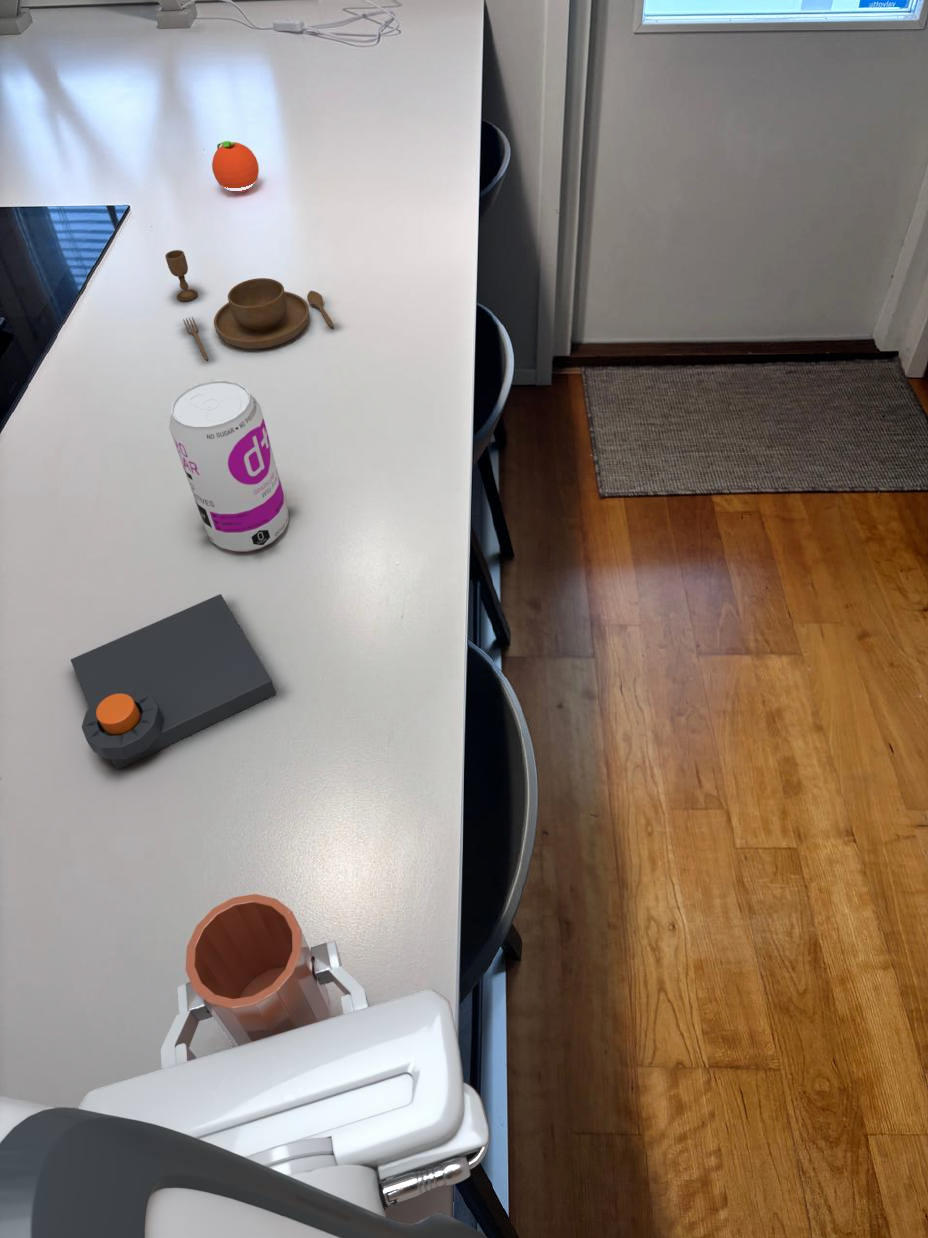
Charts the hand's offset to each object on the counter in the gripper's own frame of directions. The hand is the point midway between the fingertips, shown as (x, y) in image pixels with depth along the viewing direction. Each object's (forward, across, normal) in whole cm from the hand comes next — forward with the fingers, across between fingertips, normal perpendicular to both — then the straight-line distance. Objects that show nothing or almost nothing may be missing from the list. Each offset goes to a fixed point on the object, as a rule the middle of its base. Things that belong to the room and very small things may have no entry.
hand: (258, 966), depth 55 cm
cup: (-1, 0, +6) cm, 6 cm away
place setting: (+90, -9, +10) cm, 91 cm away
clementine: (+128, -11, +10) cm, 129 cm away
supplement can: (+50, -3, +10) cm, 51 cm away
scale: (+32, +5, +10) cm, 34 cm away
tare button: (+27, +9, +7) cm, 29 cm away
